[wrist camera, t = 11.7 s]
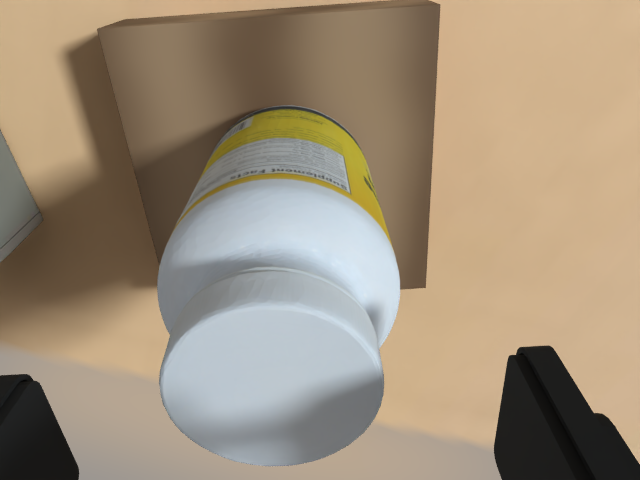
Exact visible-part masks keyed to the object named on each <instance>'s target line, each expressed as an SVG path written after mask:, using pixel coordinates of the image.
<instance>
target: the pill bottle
mask: <svg viewBox="0 0 640 480" xmlns="http://www.w3.org/2000/svg"><path fill="white" fill-rule="evenodd" d="M157 290H158V301H159V307H160V311H161V315H162V318H163V321H164V323H165V326H166V328H167V330H168V332H169V334H170V337H169V341H168V345H167V348H166V352H165V355H164V358H163V362H162V365H161V369H160V378H159V385H160V392H161V398H162V402H163V405H164V407H165V409H166V411H167V413H168V415H169V416H170V418H171V420H172V421H173V423H174V424H175V425H176V426H177V427H178V428H179V430H180V431H181V432H182V433H184V434H185V435H186V436H187V437H188V438H190V439H191V440H192V441H194V442H195V443H197V444H198V445H200V446H201V447H203V448H205V449H207V450H209V451H211V452H213V453H215V454H217V455H220V456H222V457H224V458H227V459H230V460H233V461H236V462H241V463H246V464H252V465H262V466H289V465H297V464H302V463H307V462H312V461H315V460H318V459H321V458H324V457H326V456H329V455H331V454H334V453H335V452H337V451H339V450H341V449H343V448H344V447H346V446H348V445H349V444H351V443H352V442H353V441H354V440H356V439H357V438H358V437H359V436H360V435H361V434H363V433H364V432H365V430H366V429H367V428H368V427H369V425H370V424H371V423H372V421H373V420H374V418H375V417H376V414H377V412H378V410H379V408H380V406H381V401H382V397H383V392H384V374H383V368H382V362H381V357H380V351H379V348H380V347H381V345H382V344H383V343H384V341H385V340H386V338H387V336H388V334H389V332H390V330H391V328H392V326H393V323H394V321H395V318H396V314H397V310H398V306H399V298H400V277H399V270H398V266H397V262H396V257H395V253H394V250H393V247H392V243H391V240H390V237H389V234H388V230H387V227H386V224H385V221H384V218H383V214H382V211H381V208H380V204H379V201H378V198H377V194H376V191H375V188H374V184H373V181H372V178H371V175H370V171H369V168H368V165H367V162H366V159H365V157H364V154H363V152H362V150H361V148H360V146H359V145H358V143H357V142H356V140H355V139H354V138H353V136H352V135H351V134H350V133H349V132H348V131H347V129H345V128H344V127H343V126H342V125H341V124H339V123H338V122H337V121H335V120H334V119H333V118H331V117H329V116H327V115H325V114H323V113H321V112H319V111H316V110H313V109H310V108H305V107H301V106H292V105H283V106H273V107H268V108H264V109H261V110H258V111H255V112H253V113H251V114H249V115H247V116H245V117H244V118H242V119H240V120H239V121H238V122H236V123H235V124H234V125H233V126H231V127H230V128H229V129H228V130H227V131H226V133H225V134H224V135H223V136H222V137H221V139H220V140H219V141H218V143H217V145H216V146H215V148H214V150H213V152H212V154H211V156H210V158H209V160H208V162H207V165H206V167H205V169H204V171H203V173H202V175H201V177H200V179H199V181H198V183H197V185H196V187H195V189H194V191H193V193H192V195H191V197H190V199H189V201H188V203H187V205H186V207H185V208H184V210H183V212H182V214H181V216H180V218H179V220H178V221H177V224H176V226H175V228H174V230H173V232H172V234H171V236H170V238H169V240H168V243H167V245H166V248H165V250H164V253H163V256H162V259H161V263H160V267H159V273H158V284H157Z"/></svg>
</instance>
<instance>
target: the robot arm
mask: <svg viewBox="0 0 640 480" xmlns="http://www.w3.org/2000/svg"><path fill="white" fill-rule="evenodd" d="M494 454H495V460H496V464H497V467H498V470H499V473H500V475H501V478H502V480H640V464H639V463H638V461H637V460H636V458H635V457H634V455H633V454H632V452H631V451H630V449H629V447H628V446H627V444H626V443H625V441H624V440H623V438H622V437H621V435H620V434H619V432H618V431H617V429H616V427H615V426H614V425H613V423H612V422H611V421H610V420H609V418H608V417H606V416H605V415H603V414H600V413H593V411H592V410H591V408H590V406H589V405H588V403H587V402H586V400H585V398H584V397H583V395H582V394H581V392H580V390H579V389H578V387H577V385H576V384H575V382H574V381H573V379H572V377H571V376H570V374H569V373H568V371H567V369H566V368H565V366H564V364H563V363H562V361H561V360H560V358H559V356H558V355H557V353H556V352H555V350H554V349H553V348H552V347H551V346H533V347H520V348H519V349H518V350H517V353H516V355H510V356H509V358H508V362H507V368H506V374H505V381H504V387H503V393H502V399H501V406H500V412H499V418H498V425H497V431H496V437H495V443H494ZM78 479H79V469H78V465H77V463H76V461H75V459H74V457H73V455H72V452H71V450H70V448H69V446H68V444H67V441H66V439H65V437H64V435H63V433H62V431H61V428H60V426H59V424H58V422H57V420H56V417H55V415H54V413H53V411H52V409H51V406H50V404H49V402H48V400H47V398H46V396H45V393H44V391H43V389H42V387H41V385H40V383H38V382H37V381H33V379H32V378H31V376H29V375H27V374H19V375H1V376H0V480H78Z"/></svg>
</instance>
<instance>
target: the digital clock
mask: <svg viewBox="0 0 640 480" xmlns="http://www.w3.org/2000/svg"><path fill="white" fill-rule="evenodd" d="M42 221H43V218H42V216H41V214H40V212H39V209H38V207H37V205H36V203H35V201H34V199H33V197H32V195H31V193H30V191H29V189H28V186H27V184H26V182H25V180H24V178H23V176H22V174H21V172H20V170H19V168H18V166H17V163H16V161H15V159H14V157H13V155H12V153H11V151H10V149H9V147H8V145H7V143H6V140H5V138H4V136H3V134H2V132H1V130H0V262H1V261H2V260H3V259H5V258H6V257H7V256H8V255H9V254H10V253H11V252H12V251H13V250H14V249H15V248H16V247H17V246H18V245H19V244H20V243H21V242H22V241H23V240H24V239H25V238H26V237H27V236H28V235H29V234H30V233H31V232H32V231H33V230H34V229H35V228H36V227H37V226H38V225H39V224H40V223H41V222H42Z"/></svg>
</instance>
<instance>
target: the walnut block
mask: <svg viewBox="0 0 640 480" xmlns="http://www.w3.org/2000/svg"><path fill="white" fill-rule="evenodd" d="M439 20H440V4H437V3H434V2H432V1H429V0H392V1H378V2H364V3H349V4H335V5H321V6H307V7H293V8H279V9H265V10H251V11H237V12H223V13H209V14H195V15H181V16H167V17H153V18H139V19H125V20H121V21H119V22H116V23H113V24H110V25H107V26H104V27H101V28H98V29H97V31H98V35H99V39H100V42H101V46H102V50H103V54H104V57H105V61H106V65H107V69H108V73H109V76H110V80H111V84H112V88H113V92H114V95H115V99H116V103H117V107H118V110H119V114H120V118H121V122H122V126H123V129H124V133H125V137H126V141H127V145H128V148H129V152H130V156H131V160H132V163H133V167H134V171H135V175H136V179H137V182H138V186H139V190H140V194H141V197H142V201H143V205H144V209H145V213H146V216H147V220H148V224H149V228H150V232H151V235H152V239H153V243H154V247H155V250H156V254H157V258H158V262H159V266H160V263H161V259H162V256H163V253H164V250H165V248H166V245H167V243H168V240H169V238H170V236H171V234H172V232H173V230H174V228H175V226H176V224H177V221H178V220H179V218H180V216H181V214H182V212H183V210H184V208H185V207H186V205H187V203H188V201H189V199H190V197H191V195H192V193H193V191H194V189H195V187H196V185H197V183H198V181H199V179H200V177H201V175H202V173H203V171H204V169H205V167H206V165H207V162H208V160H209V158H210V156H211V154H212V152H213V150H214V148H215V146H216V145H217V143H218V141H219V140H220V139H221V137H222V136H223V135H224V134H225V133H226V131H227V130H228V129H229V128H230V127H231V126H233V125H234V124H235V123H236V122H238V121H239V120H240V119H242V118H244V117H245V116H247V115H249V114H251V113H253V112H255V111H258V110H261V109H264V108H268V107H273V106H283V105H292V106H301V107H305V108H310V109H313V110H316V111H319V112H321V113H323V114H325V115H327V116H329V117H331V118H333V119H334V120H335V121H337V122H338V123H339V124H341V125H342V126H343V127H344V128H345V129H347V131H348V132H349V133H350V134H351V135H352V136H353V138H354V139H355V140H356V142H357V143H358V145H359V146H360V148H361V150H362V152H363V154H364V157H365V159H366V162H367V165H368V168H369V171H370V175H371V178H372V181H373V184H374V188H375V191H376V194H377V198H378V201H379V204H380V208H381V211H382V214H383V218H384V221H385V224H386V227H387V230H388V234H389V237H390V240H391V243H392V247H393V250H394V253H395V257H396V262H397V266H398V270H399V277H400V289H414V288H426V271H427V252H428V232H429V213H430V194H431V175H432V155H433V136H434V117H435V97H436V78H437V59H438V40H439Z"/></svg>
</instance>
